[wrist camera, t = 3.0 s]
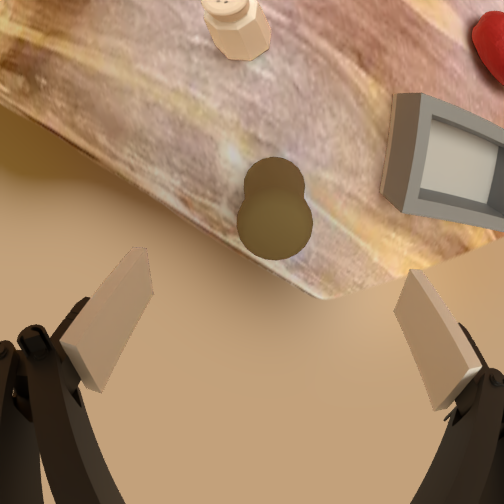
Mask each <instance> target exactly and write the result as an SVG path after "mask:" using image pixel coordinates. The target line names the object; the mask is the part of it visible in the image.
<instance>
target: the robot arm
mask: <svg viewBox="0 0 504 504" xmlns="http://www.w3.org/2000/svg"><path fill="white" fill-rule="evenodd" d="M153 294H154V293H153V287H152V281H151V275H150V269H149V263H148V255H147V249H146V248H137V247H133V248H132V249H131V250H130V251H129V252H128V253H127V254H126V256H125V257H124V258H123V259H122V260H121V261H120V263H119V264H118V265H117V266H116V267H115V269H114V270H113V271H112V272H111V273H110V275H109V276H108V277H107V278H106V280H105V281H104V282H103V283H102V285H101V286H100V287H99V288H98V289H97V291H96V292H95V293H94V295H93V296H92V297H91V298H89V297H85V298H83V299H82V300H80V301H79V302H78V303H76V304H75V306H74V307H73V308H72V310H71V311H70V313H69V314H68V315H67V316H66V318H65V319H64V320H63V321H62V323H61V324H60V325H59V326H58V328H57V329H56V331H55V332H54V333H53V335H52V336H51V337H50V338H49V336H48V334H47V332H46V330H45V328H44V327H43V326H41V325H37V324H36V325H30V326H28V327H26V328H25V329H24V330H22V331H21V332H20V334H19V335H18V339H17V342H18V344H19V346H20V348H21V349H22V350H16V349H15V347H14V345H13V344H12V343H11V342H10V341H6V340H4V341H1V342H0V504H44V501H43V493H42V484H41V473H40V455H41V459H42V463H43V466H44V470H45V473H46V477H47V480H48V483H49V486H50V489H51V492H52V495H53V497H54V500H55V502H56V504H125V502H124V500H123V498H122V496H121V494H120V493H119V490H118V489H117V486H116V485H115V482H114V480H113V478H112V476H111V474H110V472H109V470H108V467H107V465H106V463H105V461H104V458H103V456H102V453H101V452H100V448H99V446H98V443H97V441H96V438H95V435H94V433H93V430H92V427H91V424H90V421H89V418H88V415H87V412H86V409H85V406H84V402H83V399H82V396H81V392H80V390H79V388H78V384H79V382H80V381H81V380H82V382H83V383H84V385H85V387H86V388H88V389H91V390H93V391H97V392H99V393H102V392H103V390H104V388H105V386H106V384H107V381H108V379H109V377H110V375H111V373H112V371H113V369H114V367H115V365H116V363H117V361H118V359H119V357H120V355H121V353H122V351H123V349H124V347H125V346H126V344H127V342H128V340H129V338H130V336H131V334H132V332H133V330H134V328H135V327H136V325H137V323H138V321H139V319H140V317H141V316H142V314H143V312H144V310H145V308H146V306H147V304H148V303H149V301H150V299H151V298H152V296H153ZM394 313H395V315H396V318H397V320H398V322H399V324H400V326H401V329H402V331H403V333H404V335H405V338H406V340H407V342H408V345H409V347H410V349H411V352H412V354H413V357H414V359H415V362H416V364H417V367H418V369H419V371H420V374H421V377H422V380H423V382H424V385H425V387H426V390H427V393H428V396H429V399H430V402H431V405H432V408H433V411H438V410H442V409H447V408H448V407H449V406H450V405H451V404H452V402H453V401H454V400H455V402H456V405H457V406H456V407H455V408H454V409H453V410H452V411H451V412H450V413H449V414H448V415H447V416H446V417H445V419H444V421H446V420H447V419H448V418H449V417H450V420H449V422H448V425H447V428H446V431H445V434H444V436H443V438H442V441H441V444H440V446H439V448H438V451H437V453H436V455H435V457H434V459H433V461H432V464H431V466H430V468H429V470H428V472H427V474H426V476H425V478H424V480H423V482H422V484H421V485H420V487H419V489H418V491H417V493H416V494H415V496H414V498H413V500H412V501H411V503H410V504H504V375H503V374H502V373H501V372H500V371H499V370H497V369H494V368H489V367H488V365H487V363H486V362H485V360H484V358H483V356H482V354H481V353H480V351H479V349H478V347H477V346H476V344H475V342H474V340H473V339H472V337H471V335H470V334H469V332H468V331H467V329H466V328H465V327H464V326H463V325H461V324H460V323H457V321H456V320H455V318H454V316H453V315H452V314H451V312H450V310H449V309H448V307H447V306H446V304H445V303H444V301H443V300H442V298H441V297H440V295H439V294H438V292H437V291H436V289H435V288H434V286H433V285H432V284H431V282H430V281H429V279H428V278H427V277H426V275H425V274H424V273H423V271H422V270H415V269H410V270H409V273H408V276H407V279H406V282H405V284H404V287H403V289H402V292H401V294H400V297H399V300H398V302H397V304H396V307H395V309H394ZM13 390H14V393H13ZM12 394H13V396H12Z"/></svg>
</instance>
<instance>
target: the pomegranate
mask: <svg viewBox="0 0 504 504" xmlns="http://www.w3.org/2000/svg"><path fill="white" fill-rule="evenodd" d="M472 40H473V43H474V45H475V47H476V49H477V52H478V54H479V56H480V58H481V60H482V62H483V64H484V65H485V66H486V68H487V69H488V70H489V71H490V73H491V74H492V75H493V77H494V78H495V79H497V80H498V81H499V82H500V83H501V84H502V85H503V86H504V13H503V12H500V11H489V12H486V13H485V14H484V15H482V17H481V19H480V20H479V22H478V24H476V26H475V27H474V28H473V31H472Z"/></svg>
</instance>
